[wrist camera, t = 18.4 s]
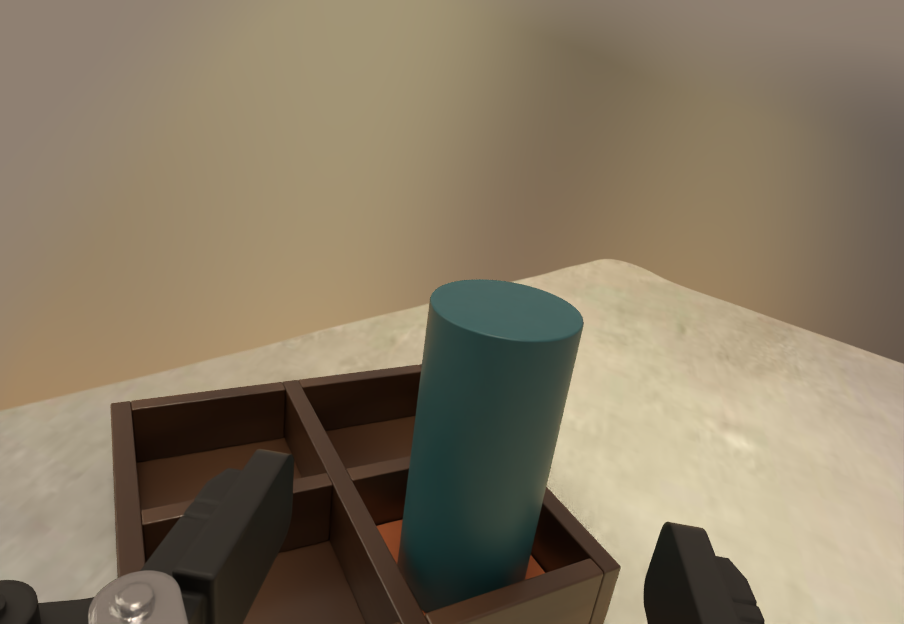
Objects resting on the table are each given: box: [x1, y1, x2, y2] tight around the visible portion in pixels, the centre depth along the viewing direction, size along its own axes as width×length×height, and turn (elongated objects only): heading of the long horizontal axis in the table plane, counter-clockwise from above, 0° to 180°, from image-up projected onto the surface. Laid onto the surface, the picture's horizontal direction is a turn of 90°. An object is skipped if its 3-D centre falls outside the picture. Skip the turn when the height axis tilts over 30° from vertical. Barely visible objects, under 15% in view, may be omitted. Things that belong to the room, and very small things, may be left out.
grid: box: [111, 364, 621, 624], centre depth 22 cm, size 14×14×3 cm
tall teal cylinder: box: [397, 280, 584, 613], centre depth 20 cm, size 4×4×10 cm
